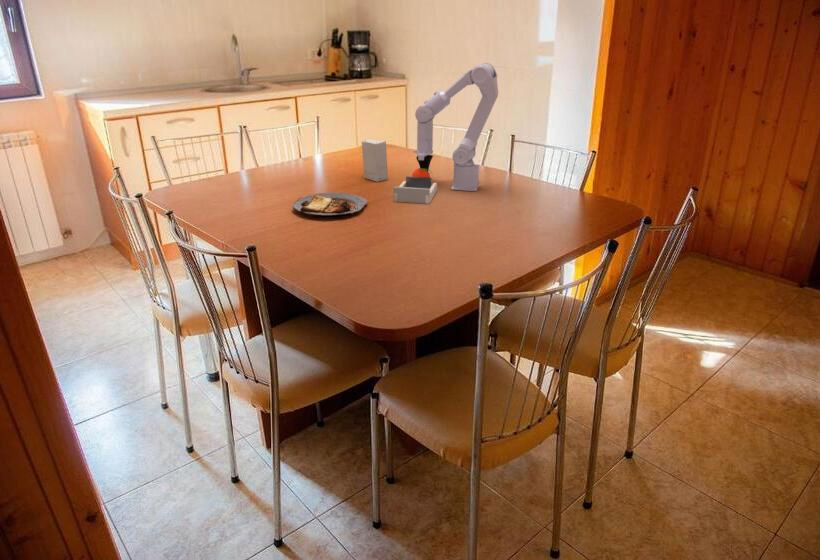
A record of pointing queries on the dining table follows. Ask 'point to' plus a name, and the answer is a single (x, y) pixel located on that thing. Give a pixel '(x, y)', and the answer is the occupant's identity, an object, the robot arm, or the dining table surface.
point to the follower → (418, 182)
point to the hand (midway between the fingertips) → (424, 175)
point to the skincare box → (375, 160)
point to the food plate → (321, 203)
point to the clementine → (421, 173)
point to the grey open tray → (414, 194)
